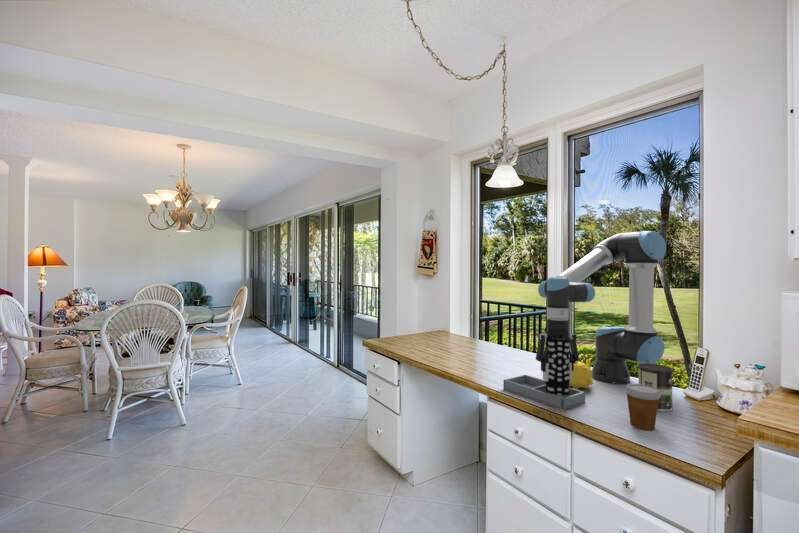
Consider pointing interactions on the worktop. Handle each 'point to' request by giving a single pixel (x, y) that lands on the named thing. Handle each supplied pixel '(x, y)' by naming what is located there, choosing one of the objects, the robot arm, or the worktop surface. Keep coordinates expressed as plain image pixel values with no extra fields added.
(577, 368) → the teapot
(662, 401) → the coffee can
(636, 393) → the disposable coffee cup
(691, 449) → the worktop surface
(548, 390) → the white-spotted black cylinder
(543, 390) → the gray divided tray
